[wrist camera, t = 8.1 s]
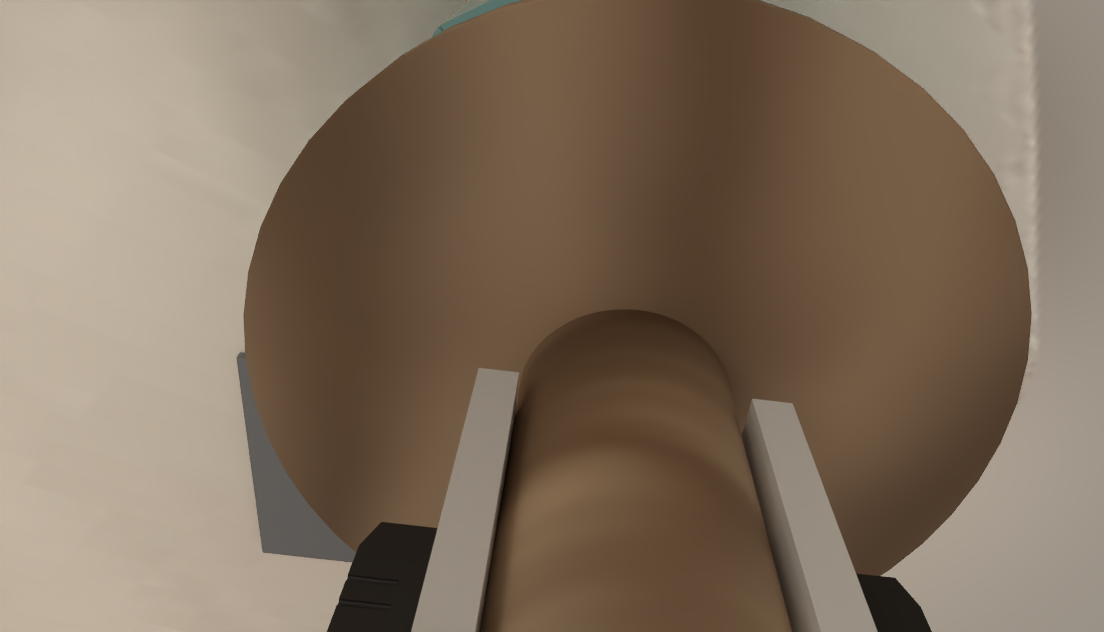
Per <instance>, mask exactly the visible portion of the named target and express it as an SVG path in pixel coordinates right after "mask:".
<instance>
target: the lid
mask: <svg viewBox="0 0 1104 632" xmlns="http://www.w3.org/2000/svg"><path fill="white" fill-rule="evenodd" d="M1030 326H1031V303H1030V291H1029V280H1028V268H1027V264H1026V260H1025V256H1024V252H1023V249H1022V245H1021V241H1020V237H1019V233H1018V230H1017V226H1016V222H1015V219H1014V217H1013V215H1012V212H1011V210H1010V208H1009V206H1008V204H1007V202H1006V199H1005V197H1004V195H1003V193H1002V191H1001V189H1000V186H999V184H998V182H997V180H996V178H995V175H994V173H993V172H992V171H991V169H990V168H989V166H988V165H987V163H986V162H985V160H984V159H983V157H982V156H981V155H980V153H979V152H978V150H977V149H976V147H975V146H974V144H973V143H972V141H971V140H970V139H969V137H968V136H967V134H966V133H965V131H964V130H963V129H962V128H961V127H960V126H959V125H958V124H957V122H956V121H955V120H954V119H953V118H952V117H951V116H950V115H949V114H948V113H947V112H946V111H945V110H944V109H943V108H942V107H941V106H940V105H939V104H938V103H937V102H936V101H935V100H934V99H933V98H932V97H931V96H930V95H929V94H928V93H927V92H926V91H925V90H924V89H923V88H922V87H921V86H919V85H918V84H917V83H915V82H914V81H913V80H911V79H910V78H909V77H907V76H906V75H905V74H903V73H902V72H900V71H899V70H898V69H896V68H895V67H894V66H892V65H891V64H890V63H888V62H887V61H886V60H884V59H883V58H882V57H880V56H879V55H878V54H876V53H875V52H873V51H871V50H869V49H868V48H866V47H864V46H863V45H861V44H859V43H857V42H855V41H853V40H851V39H850V38H848V37H846V36H844V35H842V34H840V33H838V32H836V31H834V30H832V29H830V28H828V27H827V26H825V25H823V24H821V23H819V22H817V21H815V20H813V19H811V18H809V17H807V16H804V15H801V14H798V13H795V12H792V11H789V10H786V9H783V8H780V7H778V6H775V5H772V4H769V3H766V2H763V1H760V0H522V1H518V2H514V3H510V4H506V5H503V6H501V7H499V8H496V9H494V10H491V11H489V12H486V13H484V14H481V15H479V16H476V17H474V18H471V19H469V20H466V21H464V22H461V23H459V24H456V25H454V26H452V27H450V28H448V29H446V30H444V31H443V32H441V33H439V34H438V35H436V36H434V37H432V38H431V39H429V40H427V41H426V42H424V43H422V44H420V45H419V46H417V47H415V48H414V49H412V50H410V51H408V52H407V53H405V54H403V55H402V56H400V57H399V58H398V59H397V60H395V61H394V62H393V63H392V64H390V65H389V66H388V67H387V68H385V69H384V70H383V71H382V72H380V73H379V74H378V75H377V76H375V77H374V78H373V79H372V80H370V81H369V82H368V83H367V84H365V85H364V86H363V87H362V88H360V89H359V90H358V91H357V92H355V93H354V94H353V95H352V96H351V97H349V98H348V99H347V100H346V101H345V102H344V103H343V104H342V105H341V106H340V107H339V108H338V109H337V111H336V112H335V113H334V114H333V115H332V116H331V117H330V118H329V119H328V120H327V121H326V123H325V124H324V125H323V126H322V127H321V128H320V129H319V130H318V131H317V132H316V133H315V135H314V136H313V137H312V138H311V139H310V140H309V141H308V143H307V144H306V146H305V147H304V149H303V150H302V152H301V153H300V155H299V156H298V158H297V159H296V161H295V162H294V164H293V165H292V167H291V168H290V170H289V171H288V173H287V174H286V176H285V177H284V179H283V180H282V182H281V184H280V186H279V188H278V190H277V192H276V195H275V197H274V199H273V201H272V203H271V206H270V208H269V210H268V212H267V214H266V216H265V219H264V221H263V223H262V225H261V228H260V231H259V235H258V239H257V242H256V246H255V249H254V253H253V257H252V260H251V264H250V268H249V271H248V280H247V289H246V298H245V308H244V333H245V355H246V362H247V367H248V372H249V377H250V382H251V387H252V392H253V397H254V400H255V403H256V406H257V409H258V412H259V414H260V417H261V420H262V423H263V426H264V428H265V431H266V434H267V437H268V439H269V441H270V442H271V444H272V446H273V448H274V450H275V452H276V454H277V456H278V458H279V460H280V462H281V464H282V466H283V468H284V469H285V471H286V473H287V474H288V476H289V477H290V479H291V480H292V482H293V483H294V484H295V486H296V487H297V489H298V490H299V492H300V493H301V494H302V496H303V497H304V499H305V500H306V502H307V503H308V504H309V506H310V507H311V508H312V509H313V510H314V511H315V512H316V513H317V515H318V516H319V517H320V518H321V519H322V520H323V521H324V522H325V524H326V525H327V526H328V527H329V528H330V529H331V530H332V531H333V532H334V534H336V535H337V536H338V537H339V538H340V539H341V540H342V541H343V542H345V543H346V544H347V545H348V546H349V547H350V548H351V549H352V550H353V551H355V552H357V549H358V546H359V545H360V544H361V543H362V542H363V541H364V540H365V538H366V537H367V536H368V535H369V534H370V533H371V532H372V531H373V530H374V529H375V528H376V527H377V526H378V525H379V524H380V523H381V522H388V523H397V524H406V525H415V526H424V527H433V528H438V525H439V521H440V517H441V513H442V509H443V505H444V501H445V498H446V494H447V490H448V486H449V482H450V478H451V474H452V470H453V466H454V462H455V458H456V455H457V451H458V447H459V443H460V439H461V435H462V431H463V427H464V423H465V419H466V416H467V412H468V408H469V404H470V400H471V396H472V392H473V388H474V384H475V380H476V377H477V373H478V369H479V368H485V369H494V370H502V371H511V372H519V379H518V390H517V401H516V412H515V420H514V427H513V433H512V439H511V445H510V451H509V457H508V463H507V469H506V475H505V482H504V488H503V494H502V500H501V506H500V512H499V518H498V524H497V530H496V537H495V543H494V549H493V555H492V561H491V567H490V573H489V579H488V585H487V592H486V598H485V604H484V610H483V616H482V622H481V628H480V632H792V628H791V624H790V621H789V617H788V613H787V609H786V605H785V601H784V597H783V593H782V590H781V586H780V582H779V578H778V574H777V570H776V566H775V562H774V559H773V555H772V551H771V547H770V543H769V539H768V535H767V531H766V528H765V524H764V520H763V516H762V512H761V508H760V504H759V500H758V497H757V493H756V489H755V485H754V481H753V477H752V473H751V469H750V466H749V462H748V458H747V454H746V450H745V446H744V442H743V438H742V433H743V429H744V426H745V422H746V419H747V415H748V411H749V408H750V404H751V401H752V399H759V400H768V401H777V402H786V403H793V406H794V409H795V411H796V414H797V417H798V419H799V422H800V425H801V427H802V430H803V433H804V435H805V438H806V441H807V443H808V446H809V449H810V452H811V454H812V457H813V460H814V462H815V465H816V468H817V470H818V473H819V476H820V478H821V481H822V484H823V486H824V489H825V492H826V495H827V497H828V500H829V503H830V505H831V508H832V511H833V513H834V516H835V519H836V521H837V524H838V527H839V529H840V532H841V535H842V538H843V540H844V543H845V546H846V548H847V551H848V554H849V556H850V559H851V562H852V564H853V567H854V570H855V572H856V574H865V575H874V576H880V575H882V574H883V573H885V572H887V571H888V570H890V569H891V568H892V567H894V566H895V565H896V564H897V563H899V562H900V561H901V560H902V559H904V558H905V557H906V556H907V555H909V554H910V553H911V552H913V551H914V550H915V549H916V548H918V547H919V546H920V545H921V544H923V543H924V541H926V539H928V537H929V536H931V534H933V532H935V530H936V529H938V528H939V527H940V525H942V524H943V523H944V522H945V520H947V518H949V516H951V515H952V513H953V512H954V511H955V510H956V508H957V507H958V506H959V505H960V503H961V502H962V501H963V499H964V498H965V497H966V496H967V494H968V493H969V492H970V491H971V489H972V488H973V487H974V485H975V484H976V483H977V482H978V480H979V479H980V477H981V475H982V473H983V472H984V470H985V468H986V467H987V465H988V463H989V461H990V460H991V458H992V457H993V455H994V453H995V452H996V449H997V448H998V446H999V445H1000V443H1001V440H1002V438H1003V435H1004V433H1005V431H1006V428H1007V426H1008V424H1009V421H1010V419H1011V416H1012V414H1013V412H1014V409H1015V407H1016V404H1017V401H1018V397H1019V393H1020V389H1021V385H1022V381H1023V377H1024V373H1025V369H1026V365H1027V361H1028V350H1029V338H1030Z"/></svg>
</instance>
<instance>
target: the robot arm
mask: <svg viewBox="0 0 1104 632" xmlns="http://www.w3.org/2000/svg"><path fill="white" fill-rule="evenodd" d="M518 379H519V372H511V371H502V370H494V369H485V368H479V369H478V373H477V377H476V380H475V384H474V388H473V392H472V396H471V400H470V404H469V408H468V412H467V416H466V419H465V423H464V427H463V431H462V435H461V439H460V443H459V447H458V451H457V455H456V458H455V462H454V466H453V470H452V474H451V478H450V482H449V486H448V490H447V494H446V498H445V501H444V505H443V509H442V513H441V517H440V521H439V525H438V528H433V527H424V526H415V525H406V524H397V523H388V522H381V523H380V524H379V525H378V526H377V527H376V528H375V529H374V530H373V531H372V532H371V533H370V534H369V535H368V536H367V537H366V538H365V540H364V541H363V542H362V543H361V544H360V545H359V546H358V549H357V552H356V555H355V557H354V560H353V563H352V565H351V568H350V571H349V573H348V579H347V580H346V582H345V584H344V587H343V590H342V592H341V595H340V598H339V603H338V605H337V606H336V609H335V611H334V614H333V617H332V619H331V622H330V625H329V628H328V630H327V632H480V628H481V622H482V616H483V610H484V604H485V598H486V592H487V585H488V579H489V573H490V567H491V561H492V555H493V549H494V543H495V537H496V530H497V524H498V518H499V512H500V506H501V500H502V494H503V488H504V482H505V475H506V469H507V463H508V457H509V451H510V445H511V439H512V433H513V427H514V420H515V412H516V401H517V390H518ZM742 438H743V442H744V446H745V450H746V454H747V458H748V462H749V466H750V469H751V473H752V477H753V481H754V485H755V489H756V493H757V497H758V500H759V504H760V508H761V512H762V516H763V520H764V524H765V528H766V531H767V535H768V539H769V543H770V547H771V551H772V555H773V559H774V562H775V566H776V570H777V574H778V578H779V582H780V586H781V590H782V593H783V597H784V601H785V605H786V609H787V613H788V617H789V621H790V624H791V628H792V632H932V631H931V629H930V627H929V625H928V623H927V620H926V618H925V616H924V614H923V611H922V609H921V607H920V606H919V605H918V603H917V602H916V601H915V600H914V599H913V598H912V597H911V596H910V594H909V593H908V592H907V591H906V590H905V589H904V588H903V586H902V585H901V584H900V583H899V582H898V581H897V580H896V578H891V577H882V576H874V575H865V574H856V572H855V570H854V567H853V564H852V562H851V559H850V556H849V554H848V551H847V548H846V546H845V543H844V540H843V538H842V535H841V532H840V529H839V527H838V524H837V521H836V519H835V516H834V513H833V511H832V508H831V505H830V503H829V500H828V497H827V495H826V492H825V489H824V486H823V484H822V481H821V478H820V476H819V473H818V470H817V468H816V465H815V462H814V460H813V457H812V454H811V452H810V449H809V446H808V443H807V441H806V438H805V435H804V433H803V430H802V427H801V425H800V422H799V419H798V417H797V414H796V411H795V409H794V406H793V403H786V402H777V401H768V400H759V399H752V401H751V404H750V408H749V411H748V415H747V419H746V422H745V426H744V429H743V433H742Z"/></svg>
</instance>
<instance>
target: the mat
mask: <svg viewBox="0 0 1104 632" xmlns="http://www.w3.org/2000/svg"><path fill="white" fill-rule="evenodd" d="M237 364H238V372H239V379H240V387H241V394H242V402H243V409H244V417H245V424H246V431H247V439H248V446H249V454H250V461H251V469H252V476H253V484H254V491H255V498H256V506H257V513H258V521H259V528H260V536H261V543H262V551H263V552H264V553H273V554H282V555H291V556H300V557H309V558H318V559H327V560H336V561H345V562H353V560H354V557H355V555H356V552H355V551H353V550H352V549H351V548H350V547H349V546H348V545H347V544H346V543H345V542H343V541H342V540H341V539H340V538H339V537H338V536H337V535H336V534H334V532H333V531H332V530H331V529H330V528H329V527H328V526H327V525H326V524H325V522H324V521H323V520H322V519H321V518H320V517H319V516H318V515H317V513H316V512H315V511H314V510H313V509H312V508H311V507H310V506H309V504H308V503H307V502H306V500H305V499H304V497H303V496H302V494H301V493H300V492H299V490H298V489H297V487H296V486H295V484H294V483H293V482H292V480H291V479H290V477H289V476H288V474H287V473H286V471H285V469H284V468H283V466H282V464H281V462H280V460H279V458H278V456H277V454H276V452H275V450H274V448H273V446H272V444H271V442H270V441H269V439H268V437H267V434H266V431H265V428H264V426H263V423H262V420H261V417H260V414H259V412H258V409H257V406H256V403H255V400H254V397H253V392H252V387H251V382H250V377H249V372H248V367H247V362H246V355H245V353H240V354H239V355H238V356H237Z"/></svg>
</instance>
